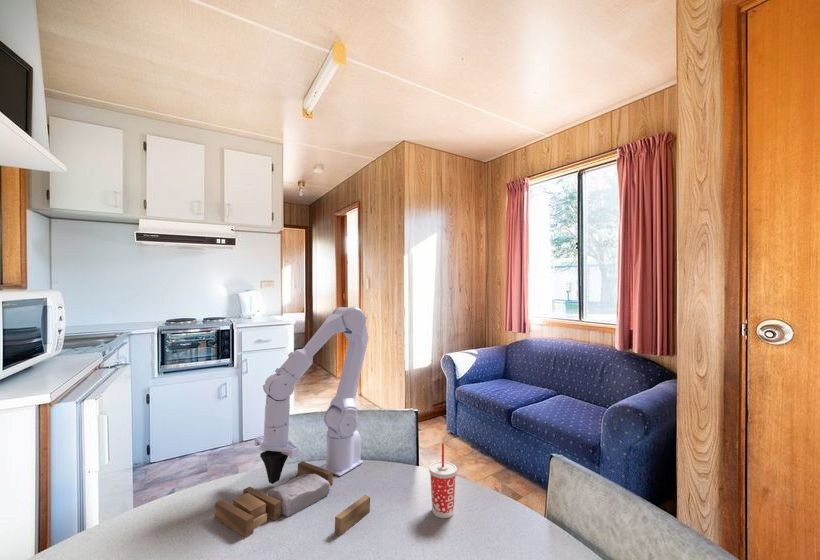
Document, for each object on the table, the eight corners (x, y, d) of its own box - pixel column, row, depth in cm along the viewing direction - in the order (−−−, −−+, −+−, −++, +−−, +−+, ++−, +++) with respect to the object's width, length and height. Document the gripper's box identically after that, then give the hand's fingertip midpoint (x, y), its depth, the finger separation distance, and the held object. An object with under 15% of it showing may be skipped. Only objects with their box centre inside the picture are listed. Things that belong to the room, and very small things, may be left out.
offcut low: (243, 511, 71) (244, 501, 71) (266, 524, 66) (267, 513, 67) (227, 520, 68) (227, 509, 68) (250, 534, 63) (250, 523, 64)
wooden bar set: (302, 473, 87) (302, 461, 87) (380, 503, 73) (380, 489, 73) (214, 518, 67) (215, 502, 68) (298, 570, 54) (299, 550, 54)
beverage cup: (436, 523, 66) (436, 451, 68) (424, 506, 72) (424, 440, 73) (462, 516, 69) (462, 446, 70) (448, 500, 74) (448, 436, 76)
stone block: (262, 513, 72) (288, 520, 67) (261, 489, 74) (287, 494, 68) (307, 492, 82) (333, 496, 76) (306, 470, 83) (332, 474, 78)
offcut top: (247, 501, 71) (248, 492, 71) (265, 512, 67) (266, 503, 67) (232, 508, 68) (233, 499, 68) (250, 520, 64) (250, 511, 64)
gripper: (244, 423, 82) (241, 480, 80) (281, 434, 74) (279, 498, 73) (269, 415, 88) (266, 468, 86) (306, 425, 80) (304, 484, 79)
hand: (274, 481), depth 80 cm, fingers closed
